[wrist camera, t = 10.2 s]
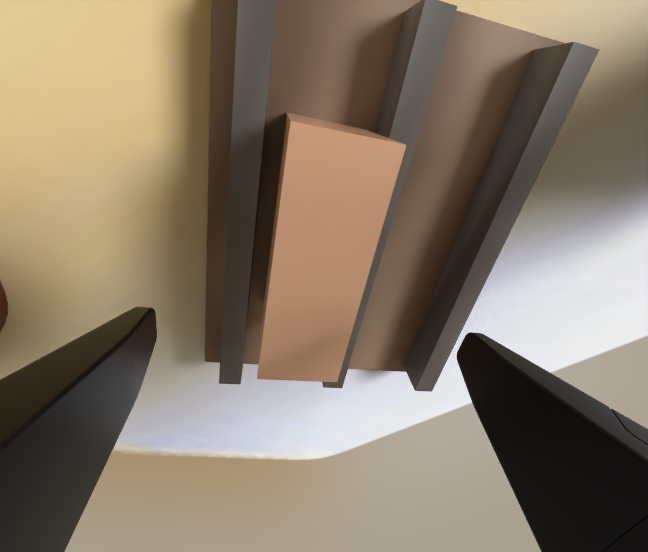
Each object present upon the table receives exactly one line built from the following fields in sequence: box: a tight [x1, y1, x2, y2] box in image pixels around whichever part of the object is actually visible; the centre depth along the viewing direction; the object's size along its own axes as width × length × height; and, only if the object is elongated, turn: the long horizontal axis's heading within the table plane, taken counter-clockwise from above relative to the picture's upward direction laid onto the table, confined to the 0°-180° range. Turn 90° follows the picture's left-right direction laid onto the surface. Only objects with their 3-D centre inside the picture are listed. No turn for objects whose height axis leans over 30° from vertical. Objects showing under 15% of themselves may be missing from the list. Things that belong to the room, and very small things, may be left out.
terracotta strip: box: [257, 112, 406, 382], centre depth 14 cm, size 4×10×6 cm, turn 169°
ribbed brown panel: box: [205, 0, 599, 391], centre depth 17 cm, size 16×20×3 cm
